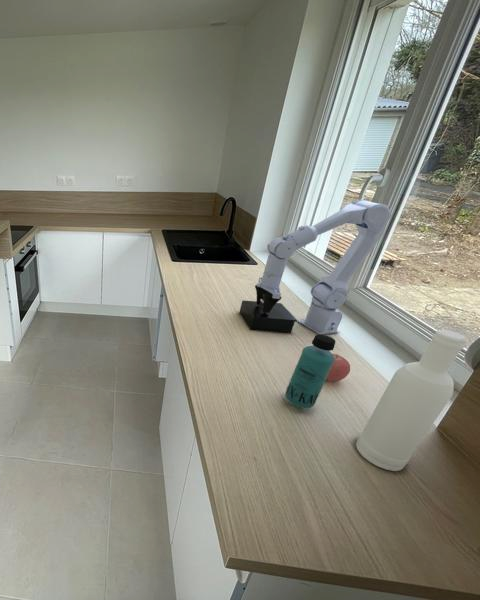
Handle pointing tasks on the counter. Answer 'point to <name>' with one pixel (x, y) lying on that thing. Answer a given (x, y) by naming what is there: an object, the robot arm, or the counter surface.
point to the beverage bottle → (311, 372)
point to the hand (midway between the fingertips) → (262, 308)
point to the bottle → (411, 404)
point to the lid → (275, 314)
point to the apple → (338, 369)
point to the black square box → (265, 323)
